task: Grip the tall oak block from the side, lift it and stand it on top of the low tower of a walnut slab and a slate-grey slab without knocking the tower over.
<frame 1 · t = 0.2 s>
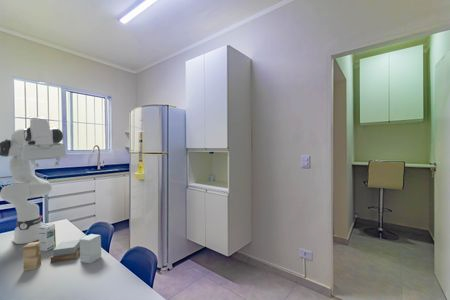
hand: (47, 166, 123), 51 cm above the table, tool tilted 20°, fingers open, 8 cm apart
oak block: (32, 267, 110), on the table
supplement box: (91, 259, 117), on the table
tower base slab: (68, 256, 122), on the table
tower top slab: (67, 250, 122), point 3 cm above the table
syrup box: (47, 249, 131), on the table
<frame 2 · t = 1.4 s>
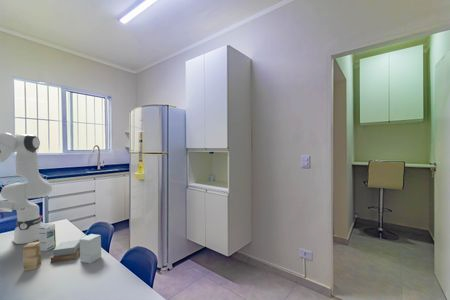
hand: (24, 207, 113), 30 cm above the table, tool tilted 75°, fingers open, 8 cm apart
tower base slab: (68, 256, 122), on the table, touching tower top slab
tower top slab: (67, 250, 122), point 3 cm above the table, touching tower base slab
everything else where it was.
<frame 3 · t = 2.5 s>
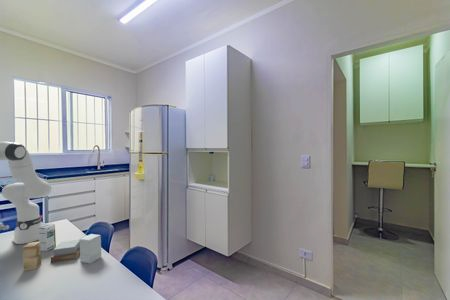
hand: (1, 230, 106), 21 cm above the table, tool horizontal, fingers open, 8 cm apart
nothing on the table moved.
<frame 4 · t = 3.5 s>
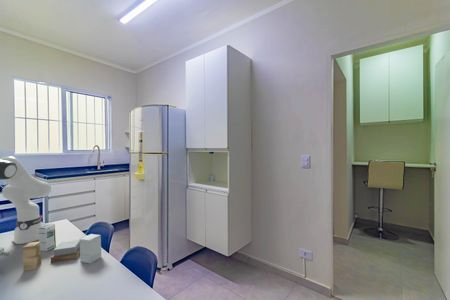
hand: (2, 258, 107), 7 cm above the table, tool horizontal, fingers open, 8 cm apart
nothing on the table moved.
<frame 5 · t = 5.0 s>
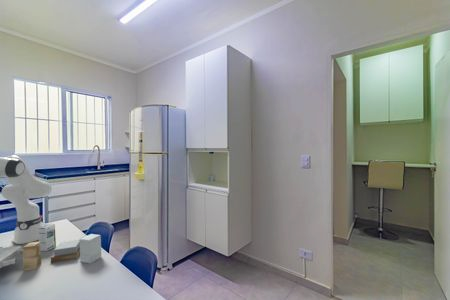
hand: (21, 256, 109), 6 cm above the table, tool horizontal, fingers open, 8 cm apart
nothing on the table moved.
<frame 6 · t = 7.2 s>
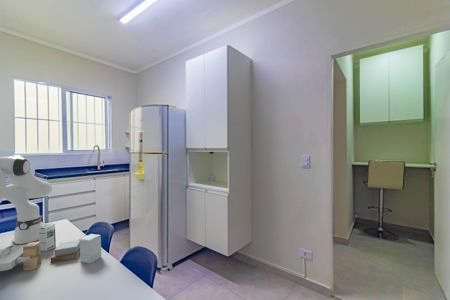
hand: (34, 254, 111), 7 cm above the table, tool horizontal, fingers closed on oak block, 5 cm apart
oak block: (32, 267, 110), on the table, touching gripper
everything else where it was.
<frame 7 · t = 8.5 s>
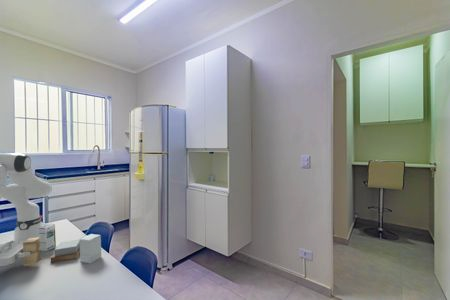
hand: (34, 249, 111), 9 cm above the table, tool horizontal, fingers closed on oak block, 5 cm apart
oak block: (32, 262, 111), point 2 cm above the table, touching gripper
everything else where it was.
when the fingers open (15 cm above the table, at t = 14.4 s): oak block drops 2 cm, point 6 cm above the table.
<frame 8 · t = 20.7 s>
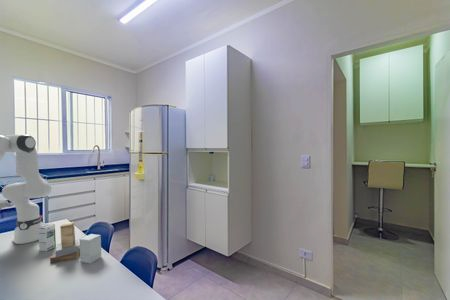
hand: (6, 207, 109), 32 cm above the table, tool horizontal, fingers open, 8 cm apart
oak block: (68, 244, 121), point 6 cm above the table
at the end: oak block inside the target area on the tower top slab (0.4 cm from its centre), point 3.6 cm above the tower top slab's base; tower top slab 0.2 cm off-centre on the tower base slab, point 3.5 cm above the tower base slab's base; oak block tilted 1° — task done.
